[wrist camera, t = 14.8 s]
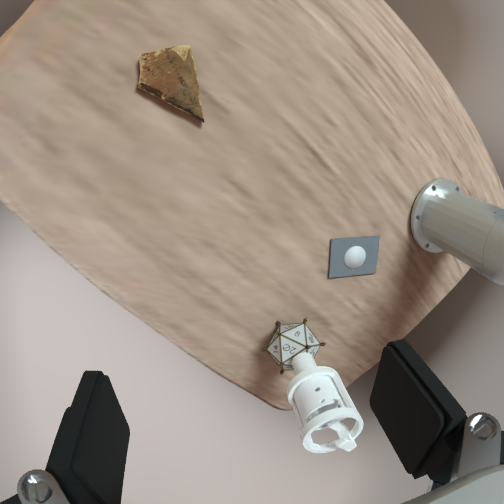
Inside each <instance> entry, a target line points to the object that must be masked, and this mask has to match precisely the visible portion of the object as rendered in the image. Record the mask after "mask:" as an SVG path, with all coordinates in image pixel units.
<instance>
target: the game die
mask: <svg viewBox="0 0 504 504" xmlns="http://www.w3.org/2000/svg"><path fill="white" fill-rule="evenodd" d="M306 321H307V318H305V319H304V320H303V323H295V324H286V325H281V324H280V322H278V321H277V324H278V326H279V327H278V329H277V330H276V332H275V334H274V336H273V337H272V339H271V341H270V342H269V344H268V346H267V348H262V349H260V350H262V351H265V350H267V352H268V353H269V354H270V355H271V357H272V358H273V359H274V360H275V362H276V363H277V364H278V365H279V368H281V369H282V370H281V371H280V373H281V374H282V373H283V372H284V370H294V368H293V366H292V360H293V358H294V357H295V356H296V355H298V354H300V353H303V352H307V353H310V354H311V355H312V356H313V359H314V357H315V355H316V353H317V351H318V349H319V347H320V346H324V345H325V344H326V343H324V342H323V343H320V342H319V341H318V340H317V338H316V337H315V336H314V334H313V333H312V332H311V330H310V329H309V328H308V327H307V325H306V324H305V323H306Z"/></svg>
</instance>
